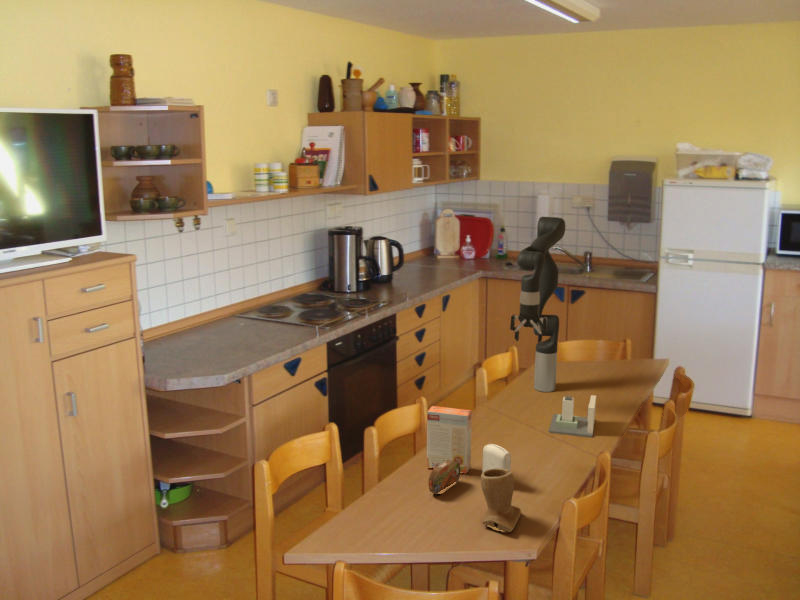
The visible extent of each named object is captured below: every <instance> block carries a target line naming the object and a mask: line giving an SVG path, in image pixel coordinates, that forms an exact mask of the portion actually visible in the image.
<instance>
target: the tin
mask: <svg viewBox="0 0 800 600" xmlns="http://www.w3.org/2000/svg"><path fill="white" fill-rule="evenodd" d="M460 476H461V473H460V465H459V463H458V462H457V461H452V460H448V461H446V462H444V463H443V464H441V465H440V466H438V467H436V468H435V469H432V471H431V472H430V474H429V476H428V489H429V492H430V493H431V492H432V493H431V494H433V493H435V494H434V495H437V493H438V492H440V491H441V490H443V489H445V488H446V487H448V486H450V485H451V484H453V483H454V482H457V483H458V482H459V480H460Z"/></svg>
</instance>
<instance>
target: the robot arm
mask: <svg viewBox="0 0 800 600" xmlns="http://www.w3.org/2000/svg"><path fill="white" fill-rule="evenodd" d="M536 231H537V233H536V235H537V236H536V238H535V239H534V240H532V242H531V244H529V246H527V247H525V248H524V249H522V250H520V252H519V253H518V255H517V258H516V264H517V266H518V267H519V268H520V269H522V270H523V269H524V270H531V271H532V270H533V271H534V272H533V273H532V274H524V275H523V276H522V277H521V279H520V282H521V283H520V284H521V285H520V295H519V313H518V315H516V314H512V315H511V317H510V325H509V329H510V331H513V332H514V340H515V341H516V342H519V339H520V329H521V328H522V327H524V328H532V329H533V330H532V331H533V334H534V335H535V336H537V343H536V345H535V356H534V358H535V359H534V360H535V361H534V381H533V382H534V383H533V389H534V390H536V391H538V392H543V393H544V392H545V393H550V392H554V391H555V390H556V383H557V369H558V368H557V367H558V366H557V365H558V364H557V362H558V361H557V360H558V343H559V342H558V341H559V332H560V318H559V316H558V314H557V315H556V314H543V312H544V311H543V310H544V307H545V306H546V304H547V302H548V301H549V299H550V298H551V297H552V295H553V294H554V293H555V291H556V289H557V288H558V285H559V273H560V272H559V267H558V266H557V263H556V261H555V260H554V258H553V257H552V255H551V253H550V250H551V248H552V247H554V246H555V245H556V244H558V242H560V241H561V240H562V239H563V237H564V235H565V232H566V221H565V220H564V219H563V218H562V217H554V216H540V217H539V218H538V221H537V226H536ZM517 320H518V321H519V324H518V325H517V326H515V323H516V321H517ZM543 337H549V338H547V339H545V340H543Z"/></svg>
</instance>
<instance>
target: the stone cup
mask: <svg viewBox="0 0 800 600" xmlns="http://www.w3.org/2000/svg"><path fill="white" fill-rule="evenodd" d="M480 487H481V490H482V494H483V495H484V500H485V502H486V505H487V509H486V510H485V513H484V516H483V518H482V520H481V524H482V525H484V524H486V525H490V526H492V527H496V528H498V529H499V530H503V531H507V532H506V533H511V532H512V531H513V530H514V528H515V527H516V526H517V523H518V521H519V518H520V516H521V513H522V511H521V508H520V507H518V506H515V505H512V500H513V494H514V491H515V484H514V475H513V474H512V471H511V472H510V471H509V470H507V469H501V468H494V469H488V470H485V471H484V472H483V471H482V473H481V475H480Z"/></svg>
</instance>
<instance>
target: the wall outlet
mask: <svg viewBox="0 0 800 600" xmlns="http://www.w3.org/2000/svg"><path fill="white" fill-rule="evenodd" d="M596 403H597V395H594V394H593V395H590V399H589V403H588V405H587V406H588V408H587V413H586V414H587V416H580V415H573V422H568V421H562V413H561V414H560V413H553V415H552V418H551V422H550V426H549V429H548V433H549V432H550V434H557V433H558V435H565V434H567V435H568V436H573V437H574V436H576V437H585V438H593V434H594V428H595V422H596V407H597V406H596V405H597V404H596ZM567 435H566V436H567Z"/></svg>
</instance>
